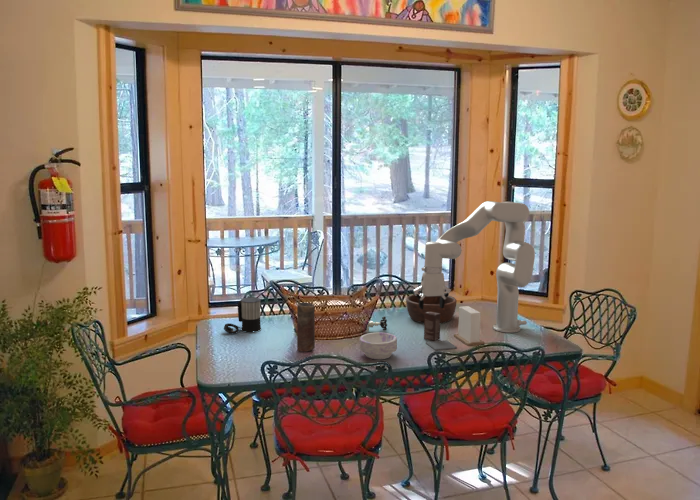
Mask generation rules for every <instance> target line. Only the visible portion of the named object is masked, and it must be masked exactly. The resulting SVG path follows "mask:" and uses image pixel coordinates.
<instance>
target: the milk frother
mask: <svg viewBox="0 0 700 500" xmlns="http://www.w3.org/2000/svg"><path fill="white" fill-rule="evenodd" d="M261 299H262V298H259V297H254V296H253V297H252V296H251V297H249V296H247V297H244V298H241V299H240V300H239V301H238V302H237V317H238V321H239V322H240V323H241V326H238V325H236V324H233V323H225V324H224V326H223V330H224V331H225V332H226V333H227V334H232V333H233V334H237V333H239V332H240V329H242V330H241V332H243V331H246V332H245V333H254V332H253V331H258V330H260V329H261V330H262V327H261V326H262V325H261V301H262V300H261ZM234 329H235V330H234ZM261 330H260V331H261ZM236 332H237V333H236ZM258 332H259V331H258Z"/></svg>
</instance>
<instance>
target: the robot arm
mask: <svg viewBox="0 0 700 500" xmlns="http://www.w3.org/2000/svg"><path fill="white" fill-rule="evenodd" d="M529 216H530V209H529V207H528V206H527V205H526V204H525V203H522V202H514V201H502V202H500V201H491V200H487V201H484V202H482V203H481V204H480V205H479V206H478V207H477V208H476V209H474V211H473V212H472V213H470V214H469V216H467V218H466V219H464V220H463V221H462V222H460V223H458V224H456V225H455V226H452V227H451V228H449V229H447V230H446V231H445V232H444V233H443V234H442V235H441V236H440V237H439V238H438V239H437V240H436V241H428V242H426V244H425V249H424V266H423V267H421V272H422V271H423V273H422V276H421V281H420V286H418V287H416V288H415V289H413V293H414V294H415V296H416V297H417V298H418V299H419V308H420V309H423V306H424V301H423V298H424V297H425V296H427V297H429V296H440V297H441V298H440V305H439V306H440V307H441V308H444V305H445V299H446V297H447V296H450V293H451V291H452V289H451V288H450V287H447V286H446V284H445V283H446V282H445V276H444V273H443V271H442V270H443V259H446V260H447V259H448V260H450V259H451V260H454V259H457V258H458V257H461V255H462V251H463V250H462V246H461V245H460V244H459V243H458V242H459V241H462V240H465V239H468V238H473V237H475V236H478V235H479V234H480V233H481V232H482V231H483V230H484V229H485V228H486V227H487V226H488V225H489V224H490V223H492V222H498V223H504V226H505V234H504V235H505V236H504V242H503V248H502V254H503V257H504V258H505V259H507V260H509V261H512V262H503V263H500V264H499V265H498V267H496V270H495V271H496V273H495V276H496V282H497V284H496V285H497V297H496V298H497V300H496V303H497V304H496V323H495V324H493V325H492V328H493V330H494V331H497V332H501V333H507V334H508V333H510V334H512V333H518V332H520V331H521V325H522V326H525V325H528V322H527V320H521V319H518V313H519V311H518V310H519V298H520V297H519V293H520V292H519V288H524V287H526V286H528V285H529V284H530V282H531V280H532V275H533V271H534V264H535V257H536V251H535V249H534V247H533V245H532V244H530V243H529V242H526V241H525V234H526V233H525V232H526V227H525V223H524V222H525V221H526V220H527V219H528V218H529ZM513 262H515V263H513ZM419 292H420V293H419ZM414 294H413V295H414ZM418 294H420V295H418Z"/></svg>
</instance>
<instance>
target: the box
mask: <svg viewBox="0 0 700 500" xmlns="http://www.w3.org/2000/svg"><path fill="white" fill-rule="evenodd" d="M423 325H424V326H423V339H424V340H428V341H431V342H433V341H440V339H441V323H440V313H435V312H426V313H425V315H424V324H423Z"/></svg>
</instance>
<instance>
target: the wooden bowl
mask: <svg viewBox="0 0 700 500" xmlns="http://www.w3.org/2000/svg"><path fill="white" fill-rule="evenodd" d="M420 294H421V293H418V295H420ZM440 298H441V297H440V296H429V297H427V296H425V297H424V298H423V301H424V306H423V309H420V308H419V299H418V298H417V297H416V296H415V294H411V295H409V296H406V299H405V301H406V309H407V314H408V315H409V317H410V319H411V320H413V321H415V322H416V323H417V322H418V323H424V315H425V313H426V312H435V313H440V324H443V323H447V322H449V321H451V320H452V318H453V317H454V315H455V312H456V309H457V298H455V297H453V296H451V295H448V296H447V297H446V299H445V305H444V308H441V307H440V306H439V305H440Z"/></svg>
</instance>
